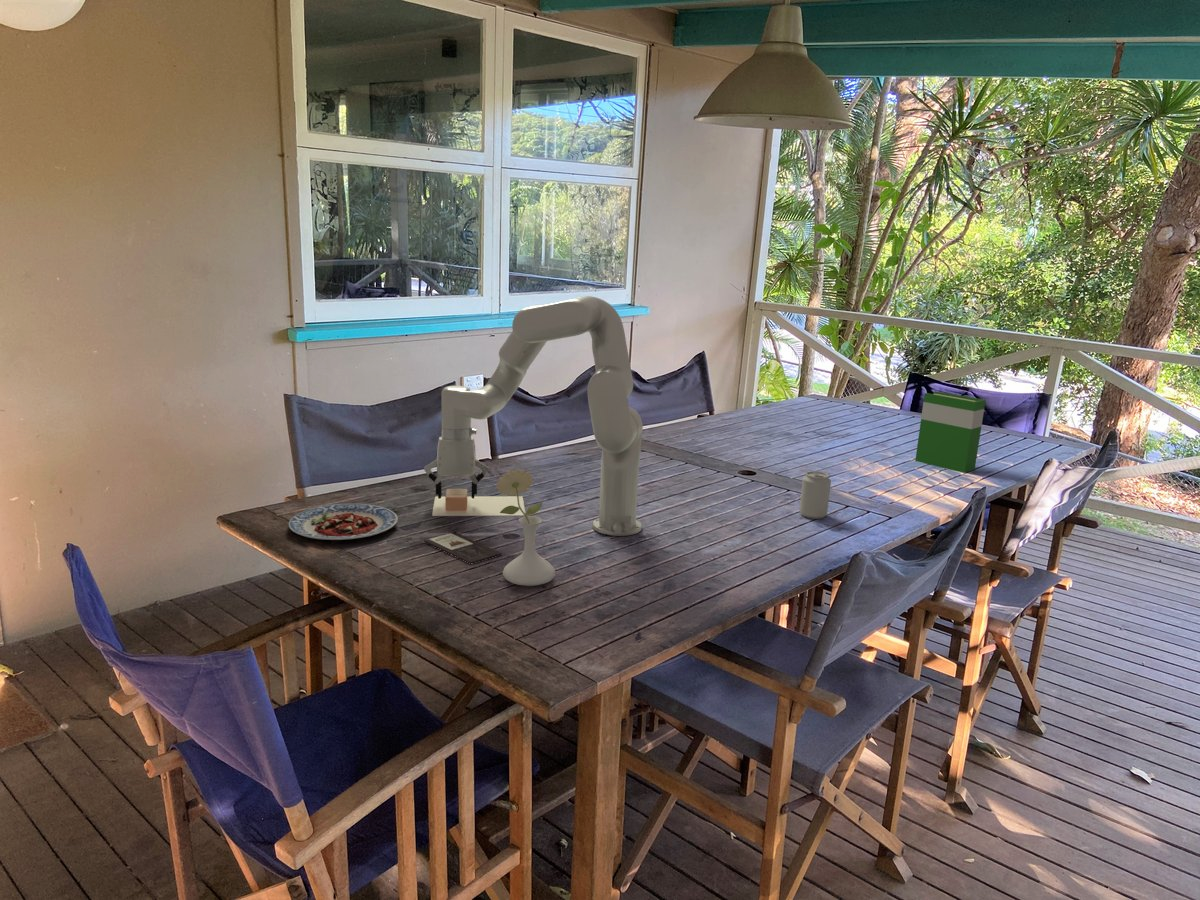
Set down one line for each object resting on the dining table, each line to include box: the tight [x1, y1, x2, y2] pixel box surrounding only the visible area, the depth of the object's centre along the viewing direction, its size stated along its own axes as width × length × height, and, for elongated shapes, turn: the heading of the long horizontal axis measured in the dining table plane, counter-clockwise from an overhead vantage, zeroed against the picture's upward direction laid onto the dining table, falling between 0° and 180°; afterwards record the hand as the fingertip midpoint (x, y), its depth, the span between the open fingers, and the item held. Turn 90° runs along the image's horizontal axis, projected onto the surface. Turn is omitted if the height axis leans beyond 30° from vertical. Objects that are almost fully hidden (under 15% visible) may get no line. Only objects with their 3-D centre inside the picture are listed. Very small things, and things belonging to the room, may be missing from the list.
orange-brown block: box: [445, 488, 468, 511], centre depth 229 cm, size 6×8×4 cm
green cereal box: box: [914, 390, 986, 474], centre depth 291 cm, size 18×7×24 cm, turn 42°
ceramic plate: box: [288, 503, 399, 541], centre depth 212 cm, size 26×26×3 cm
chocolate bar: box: [423, 531, 502, 564], centre depth 202 cm, size 9×1×18 cm
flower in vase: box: [495, 468, 556, 587], centre depth 182 cm, size 13×11×25 cm
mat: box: [431, 495, 526, 517], centre depth 230 cm, size 16×24×1 cm, turn 98°
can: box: [798, 470, 832, 520], centre depth 235 cm, size 8×8×12 cm
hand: (456, 496), depth 228 cm, fingers open, 8 cm apart
